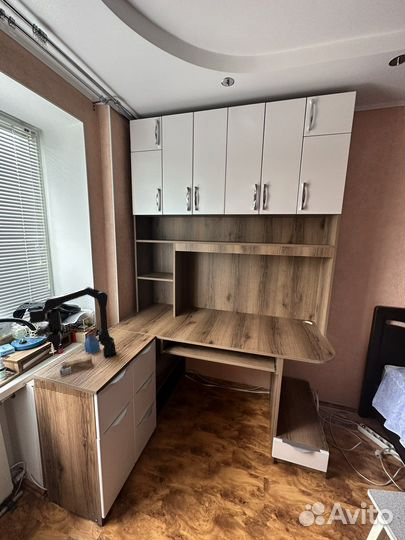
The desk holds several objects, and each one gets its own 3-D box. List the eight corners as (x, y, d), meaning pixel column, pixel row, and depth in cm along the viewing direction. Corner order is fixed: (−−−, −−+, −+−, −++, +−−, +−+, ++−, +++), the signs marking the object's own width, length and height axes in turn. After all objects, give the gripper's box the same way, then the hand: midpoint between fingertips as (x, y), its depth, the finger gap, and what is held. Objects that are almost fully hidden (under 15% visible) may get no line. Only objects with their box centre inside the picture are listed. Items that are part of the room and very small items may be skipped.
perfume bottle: (85, 351, 144) (83, 334, 142) (94, 347, 149) (92, 330, 148) (91, 354, 141) (88, 335, 139) (100, 349, 146) (97, 332, 144)
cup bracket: (72, 366, 127) (72, 361, 127) (71, 373, 120) (70, 367, 120) (62, 368, 125) (61, 363, 125) (60, 376, 118) (59, 370, 118)
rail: (92, 363, 130) (91, 356, 129) (92, 366, 126) (91, 359, 125) (64, 370, 124) (63, 362, 123) (63, 374, 120) (62, 366, 120)
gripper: (40, 317, 129) (44, 343, 131) (32, 328, 112) (36, 357, 114) (63, 314, 134) (66, 339, 136) (58, 324, 117) (62, 352, 119)
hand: (58, 346), depth 126 cm, fingers open, 9 cm apart
